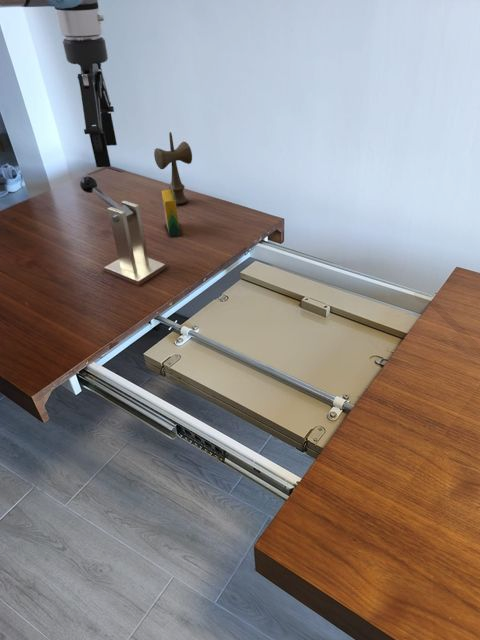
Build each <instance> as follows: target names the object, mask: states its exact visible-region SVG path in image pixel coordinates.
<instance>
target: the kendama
mask: <svg viewBox="0 0 480 640" xmlns="http://www.w3.org/2000/svg"><path fill="white" fill-rule="evenodd" d="M168 134H169V136H168V137H169V138H168V139H169V148H170V150H165V149H161V148H159V147H156V148H155V149H154V152H153V156H154V161H155V164H156V165H157V167H158V168H159V169H160V170H164V169H166V168H167V167H168V166H169V165H170V164H171V179H170V180H171V181H170V183H171V184H169V185H168V190H172V189H173V192H174V195H175V200H176V206H178V205H184V204H186V203H187V202H188V198H187V196H185V193H184V191H185V185H184V184H183V182H182V180H181V177H180V173H179V169H178V164H177V161H180V162H182V163H183V164H187V165H190V164H192V162H193V153H192V152H193V151H192V148H191V147H190V145H189V143H188V142H187V141H182V142H181V143H179V144H178V146H177V147H176V148H175V146H174V139H173V134H172V132H171V131H169V132H168ZM171 185H172V189H171Z"/></svg>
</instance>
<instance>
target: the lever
mask: <svg viewBox="0 0 480 640" xmlns="http://www.w3.org/2000/svg"><path fill="white" fill-rule="evenodd" d="M79 186H80V189H81V190H82V191H83V192H85V193H88V194H95V195H96V196H97V197H98V198H99V199H100V200H102V201H103V202H104V203H105V204H106V205H107V206H108V207H109V208H110V207H113V208H116V209H119V210H122V211H125V213H126V218H127V223H129V222H131V221H132V220H133V214H134V212H133V211H131V210H130V209H129V208H128V207H127V206H125V205H123V206H122V205H119V204H118V203H117V202H115V201H114V200H113V199H112V198H111V197H109V196H108V195H107V194H106V193H105V192H104V191H102V189H100V188H99V187H98V182H97V180H96V178H94V177H93V176H92V175H84V176H83V177H81V178H80V179H79Z"/></svg>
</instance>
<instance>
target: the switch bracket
mask: <svg viewBox="0 0 480 640" xmlns="http://www.w3.org/2000/svg"><path fill="white" fill-rule="evenodd" d="M123 205H125V206H127V207H128V208H129V209H130V210H131V211H133V212H134V214H133V220H132V221H131V222H129V223H127V218H126V213H125V211H122V210H119V209H116V208H113V207H110V206H109V207H107V213H108V217H109V221H110V226H111V229H112V230H111V231H112V235H113V239H114V244H115V248H116V252H117V258H118V259H117V260H114V261H113V262H111V263H109V264H107V265H105V266H103V267H104V272H106V273H108V274H111V275H112V276H115V277H117V278H120V279H122V280H124V281H127V282H129V283H131V284H134V285H136V286H141V285H143V284H144V283H146V282H147V281H149V280H151V279H153V277H155V276H157V275H158V274H159V273H161V272H163V271H165V270H166V269H167V266H166V265H167V264H166V263H163V262H161V261H158V260H155V259H153V258H150V257H149V255H148V250H147V244H146V237H145V233H144V232H145V231H144V226H143V221H142V215H141V209H140V204H137V203H134V202H130V201H127V200H122V201H121V206H123Z"/></svg>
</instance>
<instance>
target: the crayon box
mask: <svg viewBox="0 0 480 640" xmlns="http://www.w3.org/2000/svg"><path fill="white" fill-rule="evenodd" d="M169 183H170V184H169V185H171V182H169ZM171 189H172V185H171ZM161 198H162V204H163V210H164V218H165V224H166V228H167V231H168V236H169V237H171V238H172V237H178V236H181V233H180V232H181V231H180V225H179V223H180V222H179V216H178V209H177V205H176V200H175V195H174V192H173V189H172V190H170V189H164V190H161Z"/></svg>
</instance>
